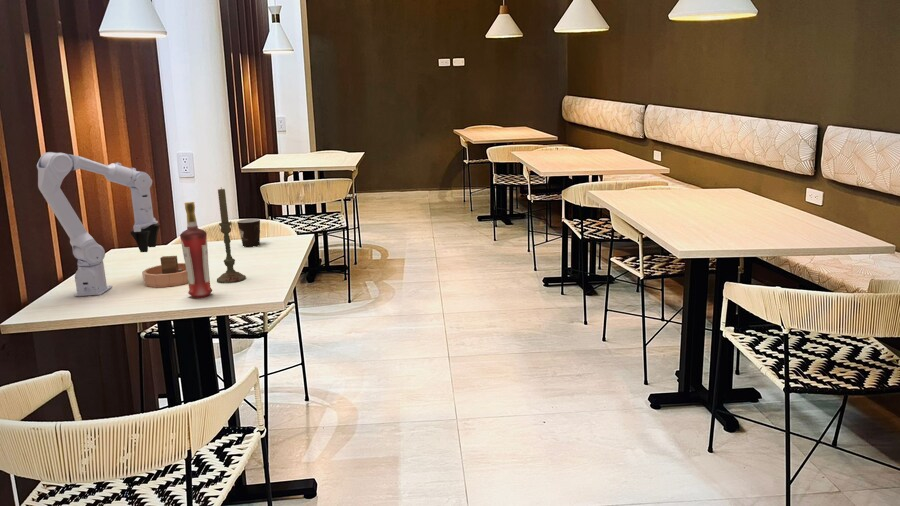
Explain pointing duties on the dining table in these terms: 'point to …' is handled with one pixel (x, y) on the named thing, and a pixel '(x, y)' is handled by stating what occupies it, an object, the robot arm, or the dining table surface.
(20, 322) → the dining table surface
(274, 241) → the dining table surface
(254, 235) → the coffee mug
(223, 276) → the candlestick holder
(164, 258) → the brown rectangular block
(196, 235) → the liquor
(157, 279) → the faceted copper bowl
